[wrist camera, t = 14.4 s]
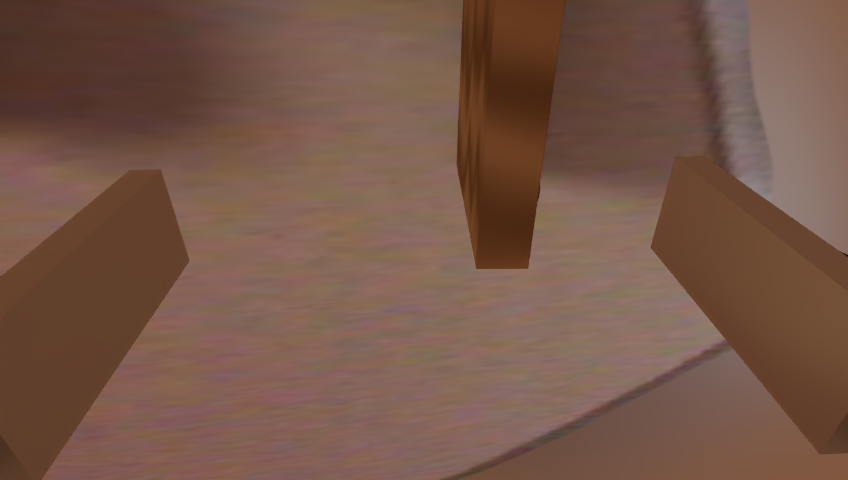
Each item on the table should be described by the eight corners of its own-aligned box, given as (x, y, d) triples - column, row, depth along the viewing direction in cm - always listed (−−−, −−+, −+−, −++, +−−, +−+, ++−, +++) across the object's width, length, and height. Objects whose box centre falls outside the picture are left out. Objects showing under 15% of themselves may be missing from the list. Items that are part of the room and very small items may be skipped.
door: (507, 163, 42) (551, 268, 28) (456, 164, 42) (476, 268, 28) (537, -144, 31) (634, -218, 17) (469, -144, 31) (511, -219, 17)
